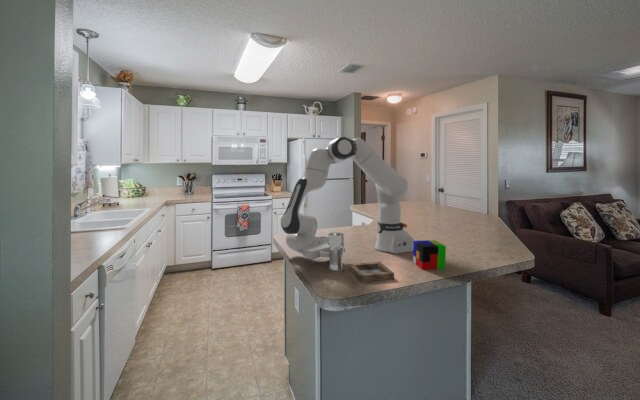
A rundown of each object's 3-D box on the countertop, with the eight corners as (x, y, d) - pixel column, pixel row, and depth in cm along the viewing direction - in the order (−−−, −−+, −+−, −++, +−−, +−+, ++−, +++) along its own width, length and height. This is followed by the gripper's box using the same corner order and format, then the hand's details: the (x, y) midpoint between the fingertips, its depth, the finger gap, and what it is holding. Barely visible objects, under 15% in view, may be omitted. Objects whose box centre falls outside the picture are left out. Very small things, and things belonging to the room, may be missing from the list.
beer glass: (333, 264, 134) (333, 231, 132) (347, 267, 130) (347, 233, 129) (324, 269, 129) (324, 234, 127) (338, 272, 125) (339, 236, 123)
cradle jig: (379, 267, 131) (379, 261, 131) (394, 279, 118) (394, 273, 118) (348, 269, 129) (348, 263, 128) (359, 282, 115) (359, 275, 115)
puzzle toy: (412, 262, 139) (413, 240, 137) (434, 261, 139) (435, 240, 138) (421, 269, 129) (423, 246, 128) (444, 269, 130) (446, 246, 128)
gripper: (296, 244, 130) (319, 250, 121) (328, 235, 145) (351, 241, 135) (296, 258, 131) (319, 266, 121) (328, 248, 145) (351, 254, 136)
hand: (336, 252), depth 128 cm, fingers open, 8 cm apart
